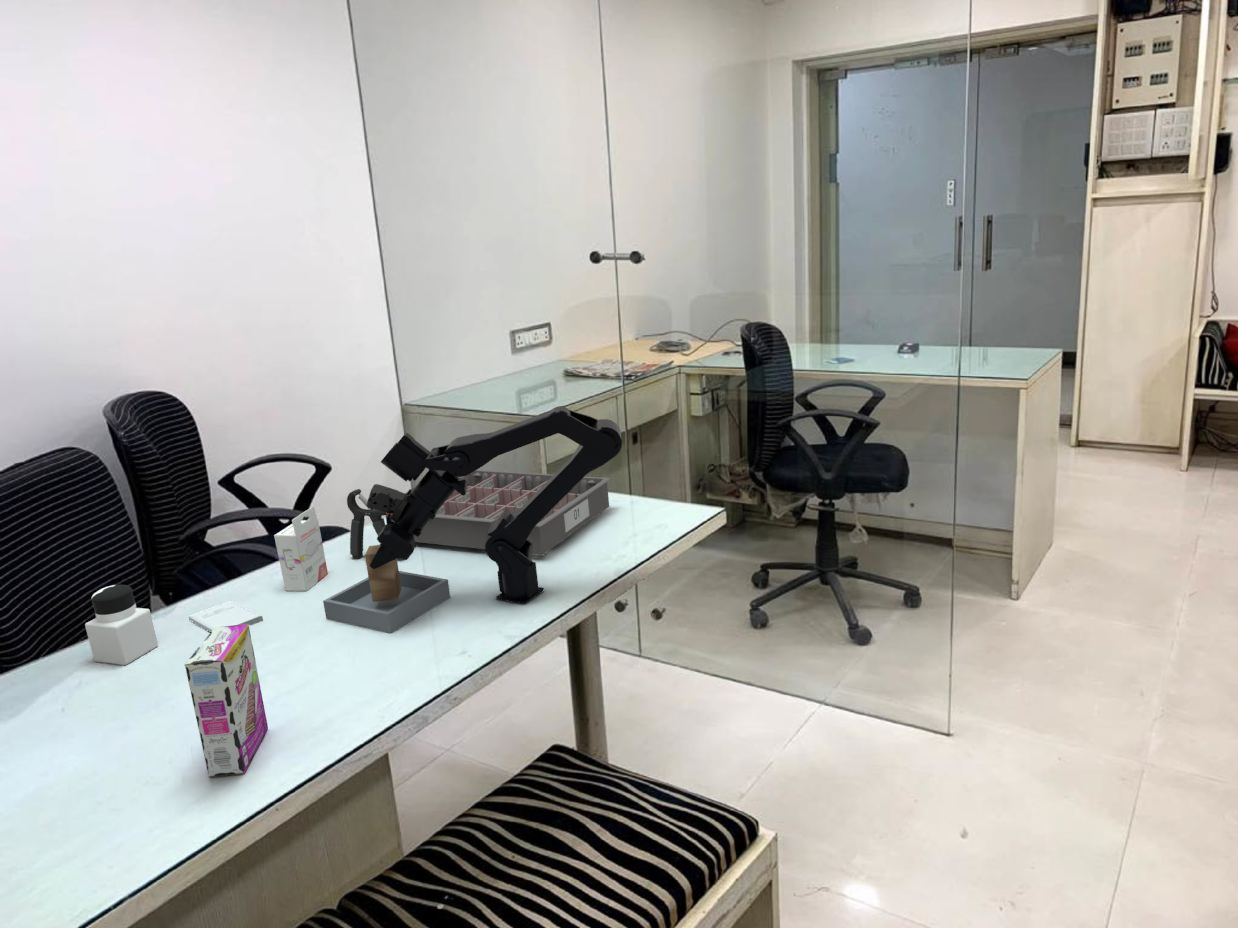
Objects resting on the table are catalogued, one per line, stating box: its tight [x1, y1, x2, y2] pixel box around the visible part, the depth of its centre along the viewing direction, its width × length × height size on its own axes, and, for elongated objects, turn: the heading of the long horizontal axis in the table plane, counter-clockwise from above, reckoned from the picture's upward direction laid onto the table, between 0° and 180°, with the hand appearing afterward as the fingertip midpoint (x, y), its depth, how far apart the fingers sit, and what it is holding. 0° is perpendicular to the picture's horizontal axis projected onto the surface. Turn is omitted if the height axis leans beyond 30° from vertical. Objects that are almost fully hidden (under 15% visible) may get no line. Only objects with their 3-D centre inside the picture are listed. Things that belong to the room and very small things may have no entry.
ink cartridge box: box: [273, 506, 329, 592], centre depth 179 cm, size 9×5×15 cm, turn 168°
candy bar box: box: [184, 624, 269, 778], centre depth 121 cm, size 11×5×16 cm, turn 5°
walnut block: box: [364, 544, 402, 602], centre depth 164 cm, size 4×4×9 cm
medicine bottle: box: [84, 584, 159, 666], centre depth 154 cm, size 7×7×12 cm
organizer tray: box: [385, 469, 612, 556], centre depth 202 cm, size 32×40×10 cm
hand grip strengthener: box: [346, 488, 403, 560], centre depth 188 cm, size 2×12×15 cm, turn 73°
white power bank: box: [188, 600, 264, 633], centre depth 166 cm, size 2×8×12 cm
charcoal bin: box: [322, 570, 451, 634], centre depth 165 cm, size 16×16×4 cm
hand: (374, 562), depth 163 cm, fingers closed on walnut block, 4 cm apart
